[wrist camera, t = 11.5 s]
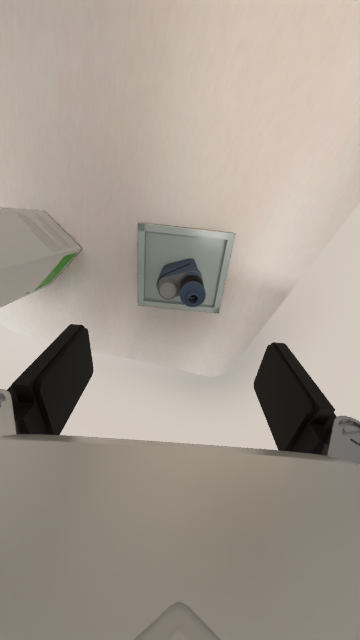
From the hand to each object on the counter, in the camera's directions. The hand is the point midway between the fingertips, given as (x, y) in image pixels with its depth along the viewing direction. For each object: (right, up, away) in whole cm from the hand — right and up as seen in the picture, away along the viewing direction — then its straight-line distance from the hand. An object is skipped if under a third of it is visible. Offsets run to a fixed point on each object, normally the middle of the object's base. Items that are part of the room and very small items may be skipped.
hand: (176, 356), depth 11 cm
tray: (0, +9, +18) cm, 21 cm away
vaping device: (0, +9, +18) cm, 20 cm away
